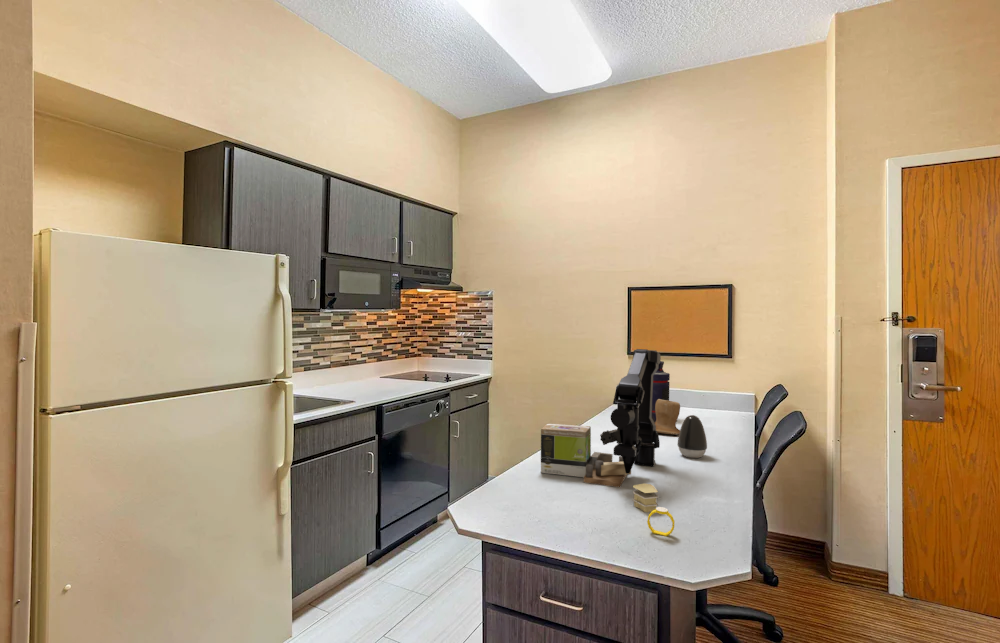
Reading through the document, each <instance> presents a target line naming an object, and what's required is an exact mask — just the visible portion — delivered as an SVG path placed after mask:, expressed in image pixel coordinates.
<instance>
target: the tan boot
mask: <svg viewBox="0 0 1000 643" xmlns="http://www.w3.org/2000/svg"><path fill="white" fill-rule="evenodd" d="M655 412H656V422H654V423H655V425H656V431H657V433H658V434H663V435H679V433H680V429H679V428H677V421H678V419H679V415H680V412H681V404H680V403H679V402H678V401H674V400H673V401H672V400H669V401H667V400H661V399H658V400H657V401H656V404H655Z"/></svg>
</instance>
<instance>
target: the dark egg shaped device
mask: <svg viewBox="0 0 1000 643" xmlns="http://www.w3.org/2000/svg"><path fill="white" fill-rule="evenodd" d="M679 430H680V433H679V434H678V437H677V447H678V450H679V453H681V454H682V456H683V457H686V458H690V459H699V458H701V457H703V456H704V455H705V454H706V452H707V451H706V450H707V449H708V442H707V436H706V435H707V434H706V432H705V428H704V425H703V422H702V421H701V420H700V418H699V417H698V416H696V415H694V414H692V415H691V414H690V415H688V416H686V418H684V420H683V421H682V425H681V427H680V429H679Z"/></svg>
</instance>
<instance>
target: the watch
mask: <svg viewBox="0 0 1000 643" xmlns="http://www.w3.org/2000/svg"><path fill="white" fill-rule="evenodd" d="M654 514H659V515H665V516H668V518H670V521H671V523H672V527H671V529H670V530H668V531H667V532H664V531H660V530H656V529H655V528H654V527H653V526H652V524H651V521H650V520H651V516H652V515H654ZM646 522H647V526H648V529H649V530H650V532H652V534H655V535H660V536H664V537H667V536H670V535H671V534H672V533H673V531H674V530H675V522H676V521H675V518H674V516H673V515H672V513H670V512H669V510H668V508H666V507H663V506H658V507H657V506H656V509H655V510H653V511H651V512H649V514H648V516H647V520H646Z"/></svg>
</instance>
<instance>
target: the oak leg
mask: <svg viewBox="0 0 1000 643" xmlns="http://www.w3.org/2000/svg"><path fill="white" fill-rule="evenodd" d="M622 474H627V475H631V474H632V470H631V471H630V473H629V474H628V473H626V471H625V467H624V462H619V461H612V462H603V461H600V460H597V461H596V475H597V476H604V475H622Z"/></svg>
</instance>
